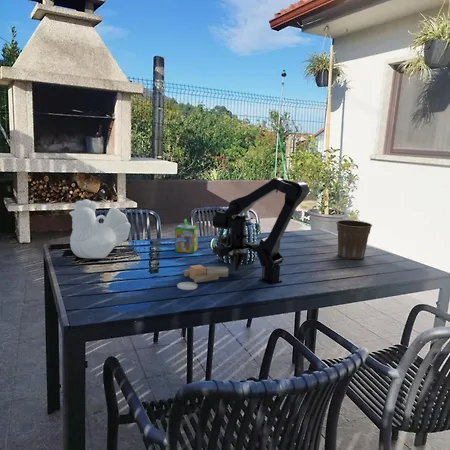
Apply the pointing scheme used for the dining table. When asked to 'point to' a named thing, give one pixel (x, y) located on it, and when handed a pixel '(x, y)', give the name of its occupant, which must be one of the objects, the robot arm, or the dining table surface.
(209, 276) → the channel
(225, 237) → the robot arm
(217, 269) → the beige rectangular block
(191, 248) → the chalk box
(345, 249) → the plant pot
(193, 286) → the white flat disc
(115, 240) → the decorative rooster
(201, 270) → the block
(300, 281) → the dining table surface
